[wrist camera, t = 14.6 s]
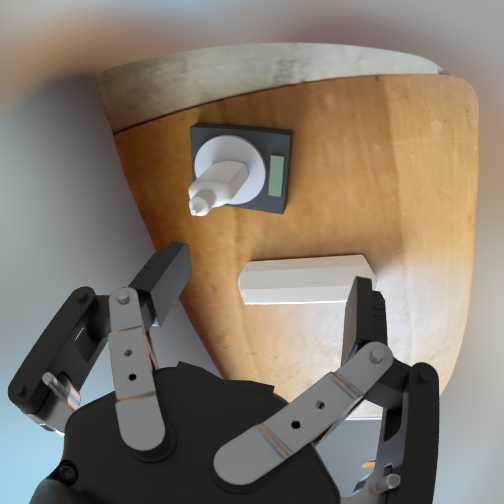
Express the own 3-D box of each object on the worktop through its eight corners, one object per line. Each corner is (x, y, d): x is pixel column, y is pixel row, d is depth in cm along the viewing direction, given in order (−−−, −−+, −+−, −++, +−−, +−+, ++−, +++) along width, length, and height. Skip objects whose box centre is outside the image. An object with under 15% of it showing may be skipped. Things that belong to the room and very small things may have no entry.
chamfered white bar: (377, 256, 42) (227, 265, 50) (378, 303, 42) (232, 307, 51) (375, 251, 49) (244, 259, 57) (376, 292, 49) (248, 297, 58)
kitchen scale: (196, 122, 41) (187, 128, 39) (292, 130, 38) (289, 136, 36) (200, 194, 48) (191, 203, 46) (285, 207, 46) (282, 217, 43)
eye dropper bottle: (215, 150, 40) (174, 185, 30) (253, 166, 40) (223, 207, 30) (207, 176, 42) (167, 217, 33) (242, 192, 43) (211, 238, 33)
